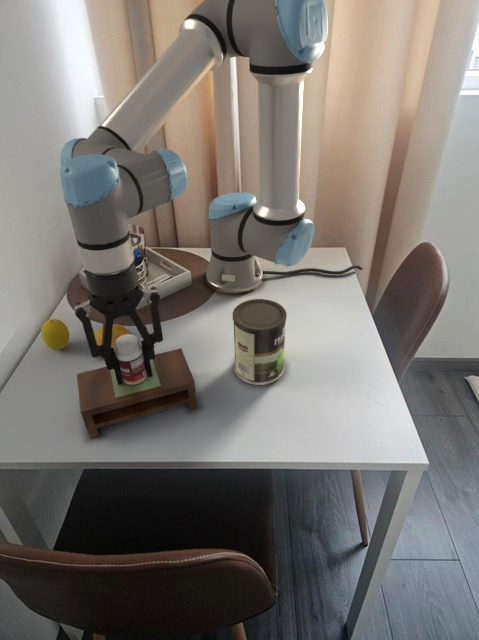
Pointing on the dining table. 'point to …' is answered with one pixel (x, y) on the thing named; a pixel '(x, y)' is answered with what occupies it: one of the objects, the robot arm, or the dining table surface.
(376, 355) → the dining table surface
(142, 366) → the pill bottle
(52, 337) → the lemon
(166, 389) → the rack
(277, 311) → the coffee can
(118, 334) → the bread roll
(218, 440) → the dining table surface
